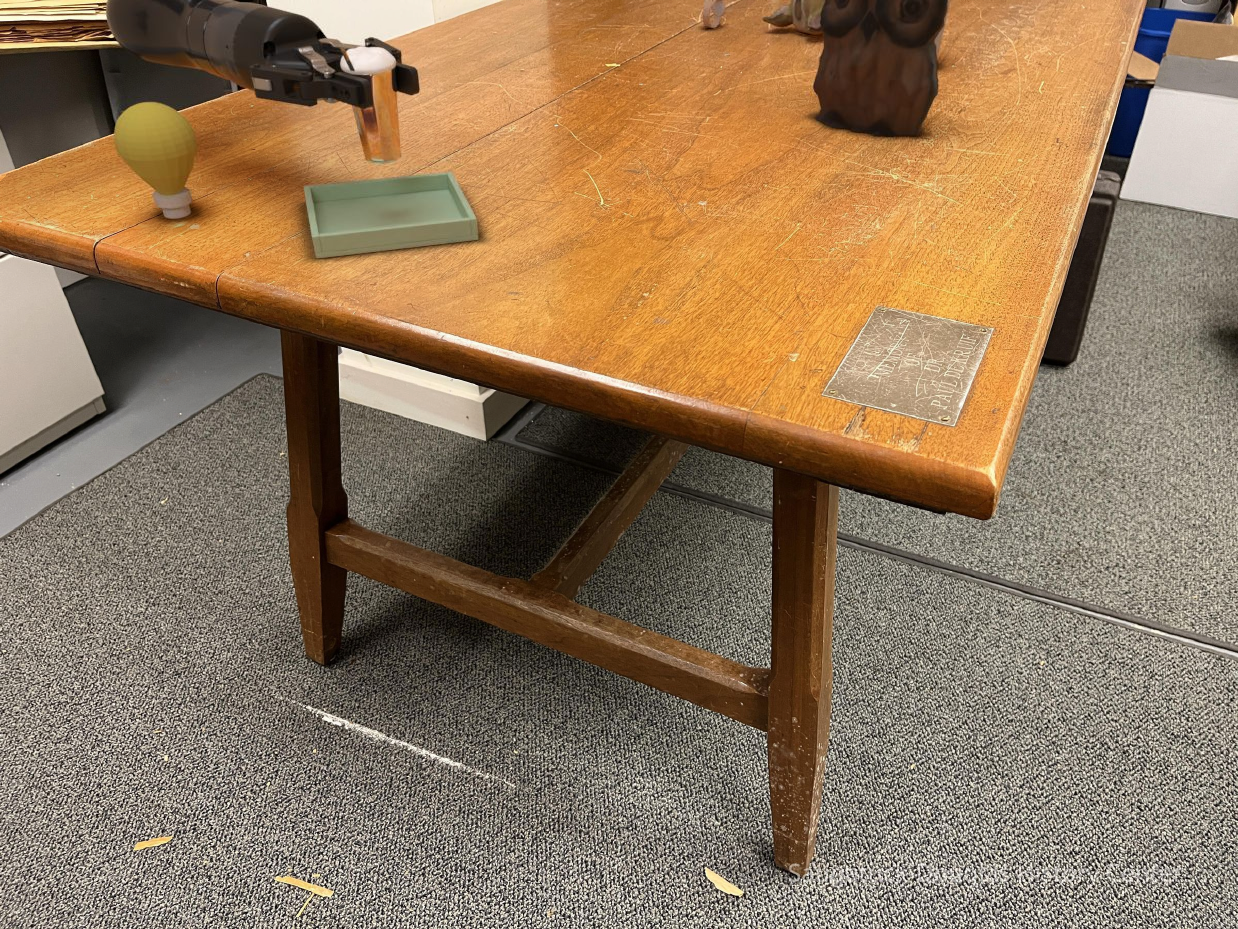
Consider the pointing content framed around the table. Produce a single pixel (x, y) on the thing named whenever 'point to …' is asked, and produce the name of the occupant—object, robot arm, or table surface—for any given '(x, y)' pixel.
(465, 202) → the tray
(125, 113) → the light bulb
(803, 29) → the ceramic sculpture
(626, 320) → the table surface
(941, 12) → the owl
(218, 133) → the table surface
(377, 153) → the milkshake
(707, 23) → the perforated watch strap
